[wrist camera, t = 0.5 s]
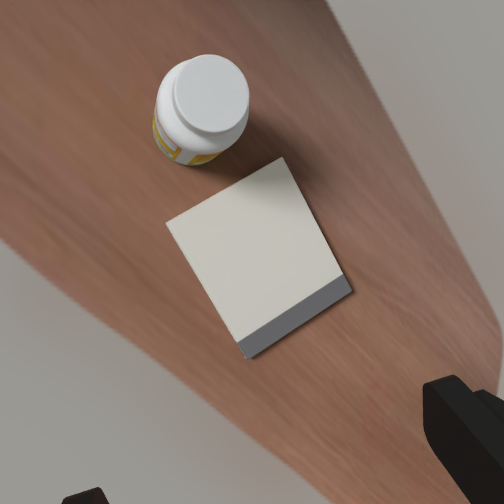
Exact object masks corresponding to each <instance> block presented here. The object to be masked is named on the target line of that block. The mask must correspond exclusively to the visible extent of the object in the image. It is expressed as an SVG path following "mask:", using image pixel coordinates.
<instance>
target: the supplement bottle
mask: <svg viewBox="0 0 504 504" xmlns="http://www.w3.org/2000/svg"><path fill="white" fill-rule="evenodd" d="M248 115H249V88H248V84H247V81H246V79H245V77H244V75H243V73H242V72H241V71H240V69H239V68H238V67H237V66H236V65H235V64H233V63H232V62H231V61H229V60H228V59H226V58H224V57H221V56H217V55H201V56H197V57H195V58H193V59H190V60H186V61H184V62H181V63H180V64H178V65H176V66H175V67H174V68H172V69H171V70H170V71H169V72H168V74H167V75H166V76H165V78H164V79H163V81H162V83H161V85H160V88H159V91H158V95H157V100H156V105H155V110H154V115H153V124H152V126H153V134H154V137H155V140H156V143H157V145H158V146H159V148H160V149H161V151H162V152H163V153H164V154H165V155H166V156H167V157H169V158H170V159H171V160H173V161H175V162H177V163H180V164H183V165H200V164H204V163H206V162H208V161H210V160H212V159H214V158H215V157H216V156H218V155H219V154H220V153H222V152H223V151H225V150H226V149H227V148H229V147H230V146H231V145H233V144H234V143H235V142H236V141H237V140H238V138H239V137H240V136H241V134H242V133H243V131H244V129H245V127H246V124H247V120H248Z"/></svg>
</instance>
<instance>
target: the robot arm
mask: <svg viewBox="0 0 504 504" xmlns="http://www.w3.org/2000/svg"><path fill="white" fill-rule="evenodd" d="M423 427H424V432H425V435H426V438H427V440H428V443H429V445H430V447H431V448H432V450H433V452H434V453H435V455H436V456H437V457H438V459H439V460H440V461H441V463H442V464H443V466H444V467H445V468H446V470H447V471H448V473H449V474H450V475H451V477H452V478H453V480H454V481H455V482H456V484H457V485H458V486H459V488H460V489H461V491H462V492H463V493H464V495H465V496H466V498H467V499H468V500H469V502H470V503H471V504H504V401H503V400H502V399H500V398H498V397H496V396H494V395H492V394H491V393H489V392H487V391H485V390H483V389H482V390H479V391H476V392H472V391H471V390H470V389H469V388H468V387H467V386H466V384H465V383H464V382H463V381H462V380H461V379H460V378H458V377H457V376H455V375H449V376H446V377H443V378H440V379H437V380H434V381H431V382H428V383H425V384H424V385H423ZM62 504H109V502H108V501H107V499H106V497H105V495H104V493H103V491H102V489H101V488H99V487H96V488H93V489H90V490H87V491H84V492H81V493H78V494H75V495H72V496H68V497H66V498H65V499H63V502H62Z"/></svg>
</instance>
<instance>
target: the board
mask: <svg viewBox="0 0 504 504" xmlns="http://www.w3.org/2000/svg"><path fill="white" fill-rule="evenodd" d="M165 224H166V225H167V227H168V229H169V230H170V232H171V234H172V235H173V237H174V239H175V240H176V242H177V244H178V246H179V247H180V249H181V251H182V252H183V254H184V256H185V257H186V259H187V261H188V262H189V264H190V266H191V267H192V269H193V271H194V272H195V274H196V276H197V277H198V279H199V281H200V283H201V284H202V286H203V288H204V289H205V291H206V293H207V294H208V296H209V298H210V299H211V301H212V303H213V304H214V306H215V308H216V309H217V311H218V313H219V314H220V316H221V318H222V320H223V321H224V323H225V325H226V326H227V328H228V330H229V331H230V333H231V335H232V336H233V338H234V340H235V341H236V343H237V345H238V346H239V348H240V350H241V351H242V353H243V355H244V356H245V358H246V359H247V360H248V359H250V358H251V357H253V356H254V355H256V354H257V353H259V352H261V351H262V350H264V349H265V348H267V347H268V346H270V345H271V344H273V343H274V342H276V341H277V340H279V339H280V338H282V337H283V336H285V335H286V334H288V333H289V332H291V331H292V330H294V329H295V328H297V327H298V326H300V325H301V324H303V323H304V322H306V321H307V320H309V319H310V318H312V317H313V316H315V315H316V314H318V313H320V312H321V311H323V310H324V309H326V308H327V307H329V306H330V305H332V304H333V303H335V302H336V301H338V300H339V299H341V298H342V297H344V296H345V295H347V294H348V293H350V292H351V291H352V289H351V288H350V286H349V284H348V282H347V280H346V278H345V276H344V274H343V273H342V271H341V269H340V267H339V265H338V263H337V261H336V259H335V258H334V256H333V254H332V252H331V250H330V248H329V246H328V244H327V242H326V240H325V238H324V236H323V234H322V232H321V230H320V229H319V227H318V225H317V223H316V221H315V219H314V217H313V215H312V213H311V211H310V209H309V207H308V205H307V203H306V201H305V199H304V198H303V196H302V194H301V192H300V190H299V188H298V186H297V184H296V182H295V180H294V178H293V176H292V174H291V172H290V170H289V169H288V167H287V165H286V163H285V161H284V159H283V157H280V158H278V159H277V160H275V161H273V162H271V163H270V164H268V165H266V166H264V167H262V168H261V169H259V170H257V171H255V172H254V173H252V174H250V175H248V176H247V177H245V178H243V179H241V180H240V181H238V182H236V183H234V184H233V185H231V186H229V187H227V188H226V189H224V190H222V191H220V192H219V193H217V194H215V195H213V196H212V197H210V198H208V199H206V200H205V201H203V202H201V203H199V204H198V205H196V206H194V207H192V208H191V209H189V210H187V211H185V212H184V213H182V214H180V215H178V216H177V217H175V218H173V219H171V220H170V221H168V222H166V223H165Z"/></svg>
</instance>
